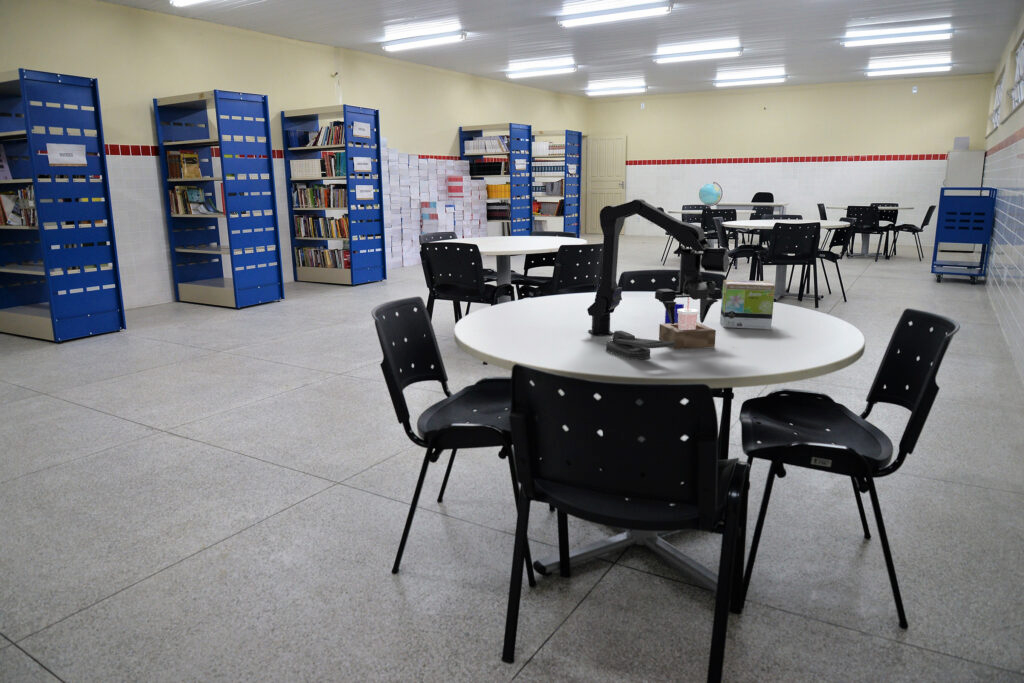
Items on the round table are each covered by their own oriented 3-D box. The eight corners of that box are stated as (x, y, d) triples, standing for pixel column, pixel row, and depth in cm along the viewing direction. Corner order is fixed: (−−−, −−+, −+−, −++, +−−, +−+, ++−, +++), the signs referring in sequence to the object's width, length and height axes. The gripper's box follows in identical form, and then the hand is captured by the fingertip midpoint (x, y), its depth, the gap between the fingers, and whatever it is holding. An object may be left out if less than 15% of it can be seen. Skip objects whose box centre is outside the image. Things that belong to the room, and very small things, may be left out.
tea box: (723, 328, 220) (726, 283, 217) (719, 322, 230) (722, 279, 226) (771, 330, 217) (775, 284, 214) (766, 323, 227) (769, 280, 224)
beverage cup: (698, 338, 201) (701, 292, 198) (694, 343, 196) (697, 295, 192) (677, 337, 204) (680, 291, 200) (673, 341, 198) (675, 294, 195)
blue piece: (669, 320, 235) (670, 303, 234) (682, 321, 233) (683, 304, 232) (660, 326, 225) (661, 308, 223) (673, 327, 223) (674, 309, 221)
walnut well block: (658, 340, 204) (659, 323, 203) (695, 338, 207) (696, 322, 205) (675, 349, 193) (676, 332, 192) (714, 347, 195) (715, 330, 194)
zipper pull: (648, 345, 170) (602, 326, 193) (647, 370, 172) (601, 348, 194) (679, 342, 173) (629, 324, 196) (677, 367, 175) (628, 346, 198)
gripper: (671, 274, 185) (668, 330, 189) (734, 272, 189) (730, 327, 192) (655, 269, 196) (653, 322, 199) (714, 268, 199) (711, 319, 203)
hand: (687, 323), depth 198 cm, fingers open, 9 cm apart
